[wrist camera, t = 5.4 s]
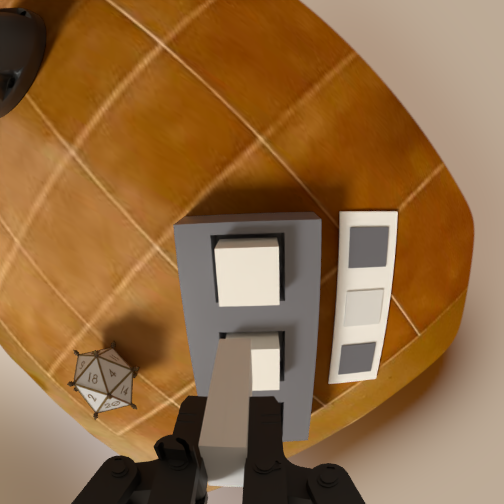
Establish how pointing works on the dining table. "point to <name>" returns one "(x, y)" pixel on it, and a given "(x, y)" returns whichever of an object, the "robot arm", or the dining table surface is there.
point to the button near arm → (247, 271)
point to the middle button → (262, 358)
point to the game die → (104, 380)
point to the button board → (256, 317)
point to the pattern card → (362, 293)
